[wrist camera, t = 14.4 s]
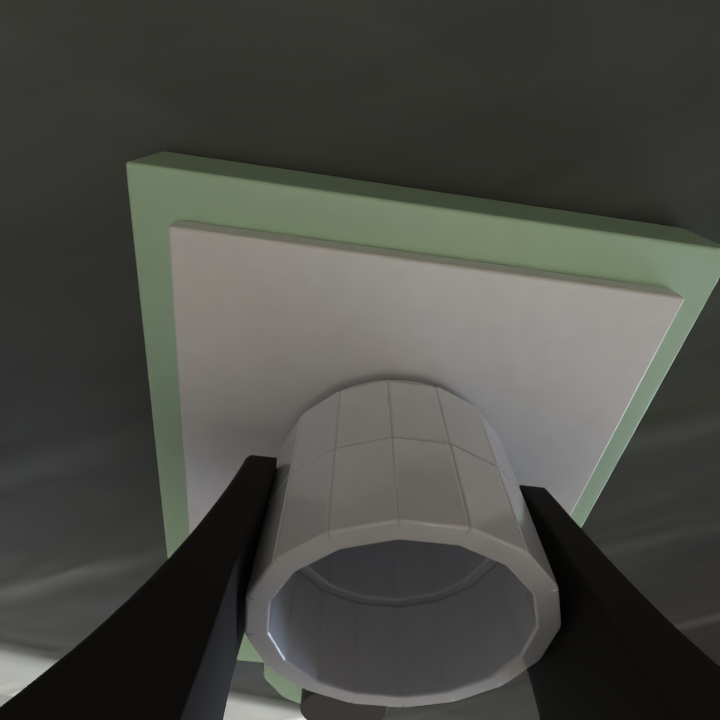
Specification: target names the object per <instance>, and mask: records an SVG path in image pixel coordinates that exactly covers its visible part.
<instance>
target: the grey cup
mask: <svg viewBox="0 0 720 720" xmlns="http://www.w3.org/2000/svg"><path fill="white" fill-rule="evenodd" d="M560 625H561V611H560V598H559V587H558V585H557V582H556V580H555V577H554V575H553V572H552V569H551V567H550V564H549V562H548V559H547V557H546V554H545V552H544V549H543V546H542V544H541V541H540V539H539V536H538V534H537V531H536V528H535V526H534V523H533V521H532V518H531V516H530V513H529V510H528V508H527V505H526V503H525V500H524V498H523V495H522V493H521V490H520V488H519V485H518V482H517V480H516V477H515V475H514V472H513V470H512V467H511V464H510V462H509V459H508V457H507V454H506V452H505V449H504V446H503V444H502V441H501V439H500V436H499V435H498V434H497V432H496V431H495V430H494V429H493V427H492V426H491V425H490V423H489V422H488V421H487V420H486V418H485V417H484V416H483V414H482V413H481V412H480V410H479V409H478V408H476V407H475V406H474V405H472V404H470V403H468V402H466V401H464V400H462V399H460V398H458V397H456V396H454V395H453V394H451V393H449V392H447V391H445V390H443V389H441V388H439V387H434V386H431V385H428V384H425V383H421V382H415V381H410V380H397V379H390V380H376V381H370V382H365V383H361V384H357V385H354V386H351V387H348V388H346V389H343V390H341V391H338V392H336V393H334V394H333V395H331V396H330V397H328V398H327V399H325V400H323V401H322V402H320V403H319V404H317V405H316V406H314V407H312V408H311V409H309V410H308V411H306V412H305V413H303V414H302V416H301V417H300V418H299V419H298V421H297V423H296V424H295V426H294V427H293V429H292V430H291V432H290V433H289V435H288V436H287V438H286V439H285V441H284V443H283V444H282V446H281V449H280V453H279V457H278V462H277V469H276V473H275V477H274V482H273V486H272V490H271V494H270V499H269V503H268V507H267V509H266V513H265V517H264V521H263V524H262V529H261V533H260V537H259V541H258V546H257V550H256V554H255V558H254V562H253V567H252V571H251V575H250V579H249V584H248V588H247V592H246V596H245V633H246V636H247V637H248V639H249V640H250V642H251V643H252V645H253V646H254V648H255V649H256V651H257V652H258V654H259V655H260V657H261V658H262V660H263V661H264V663H265V664H266V665H267V666H268V667H269V668H271V669H272V670H274V671H276V672H277V673H279V674H280V675H282V676H283V677H285V678H287V679H288V680H290V681H291V682H293V683H294V684H296V685H298V686H299V687H301V688H304V689H305V690H308V691H311V692H315V693H318V694H321V695H325V696H328V697H331V698H335V699H338V700H341V701H345V702H348V703H351V702H352V703H353V704H365V705H378V706H391V707H411V706H420V705H429V704H437V703H446V702H453V701H458V700H461V699H464V698H467V697H470V696H473V695H476V694H479V693H482V692H485V691H488V690H491V689H494V688H497V687H500V686H502V684H506V683H507V682H509V681H510V680H512V679H513V678H515V677H516V676H517V675H519V674H520V673H522V672H523V671H525V670H526V669H528V668H529V667H531V666H532V665H533V664H535V663H536V662H538V661H539V660H540V659H541V658H542V657H543V655H544V653H545V652H546V650H547V649H548V647H549V645H550V644H551V642H552V640H553V639H554V637H555V636H556V634H557V632H558V631H559V629H560Z"/></svg>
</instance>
